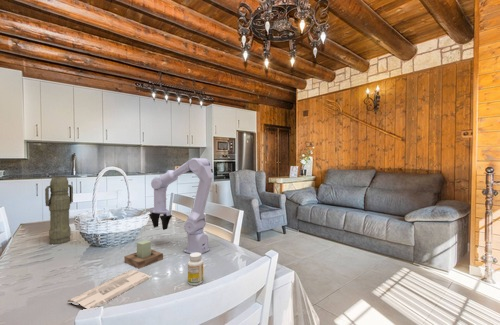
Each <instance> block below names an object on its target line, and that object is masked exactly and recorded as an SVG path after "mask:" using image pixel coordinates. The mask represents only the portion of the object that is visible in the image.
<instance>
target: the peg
mask: <svg viewBox="0 0 500 325" xmlns="http://www.w3.org/2000/svg"><path fill="white" fill-rule="evenodd" d="M151 249H152V241H150V240H147V239H146V240H140V241H137V242H136V252H137V257H138V258H140V259H142V258H145V257H148V256H151Z"/></svg>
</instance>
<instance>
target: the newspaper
mask: <svg viewBox="0 0 500 325" xmlns="http://www.w3.org/2000/svg"><path fill="white" fill-rule="evenodd" d="M150 279H152V277H151V276H150V275H149V274H146V273H144V272H142V271H139V270H136V269H130V270H128V271H124V272H122V273H121V274H117V275H116V276H115V277H113V278H111V279H109V280H107V281H105V282H103V283H101V284H99V285H98V286H95V287H93V288H91V289H89V290H87V291H84V292H83V293H81V294H79V295H76V296H74V297H72V298H71V299H69V300H67V303H68V302H76V303H78V304H80V305H79V306H82V307H83V308H85V309H87V310H88V309H89V308H95V307H98V308H100V307H101V306H97V305H99V304H103V303H106V302H107V303H109V302H111V301H113V300H115V299H116V298H118V297H120V296H122V295H124V294H125V293H127V292H129V291H130V290H133V289H134V288H135V287H138V286H140V285H141V284H143V283H144V282H146V281H149V280H150ZM117 296H118V297H117ZM112 299H113V300H112ZM110 300H111V301H110ZM108 301H109V302H108ZM107 303H106V304H107Z"/></svg>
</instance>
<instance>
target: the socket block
mask: <svg viewBox="0 0 500 325" xmlns="http://www.w3.org/2000/svg"><path fill="white" fill-rule="evenodd" d="M163 259H164V253H162V252H160V251H157V250H155V249H152V248H151V256H148V257H145V258H142V259H140V258H138V257H137V251H136V252H134V253H130V254H127V255H125V256H124V263H125V264H126V265H127V264H128V265H130V266H133V267H134V268H135V269H136V268H137V269H139V270H140V269H142V268H145V267H147V266H150V265H152V264H154V263H157V262H159V261H162V260H163Z"/></svg>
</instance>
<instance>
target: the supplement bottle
mask: <svg viewBox="0 0 500 325" xmlns="http://www.w3.org/2000/svg"><path fill="white" fill-rule="evenodd" d="M203 281H204V259H202V254H201V253H198V252H195V253H191V254H190V253H189V260H188V262H187V283H188V284H189V285H191V286H198V285H200V284H202V283H203Z"/></svg>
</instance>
